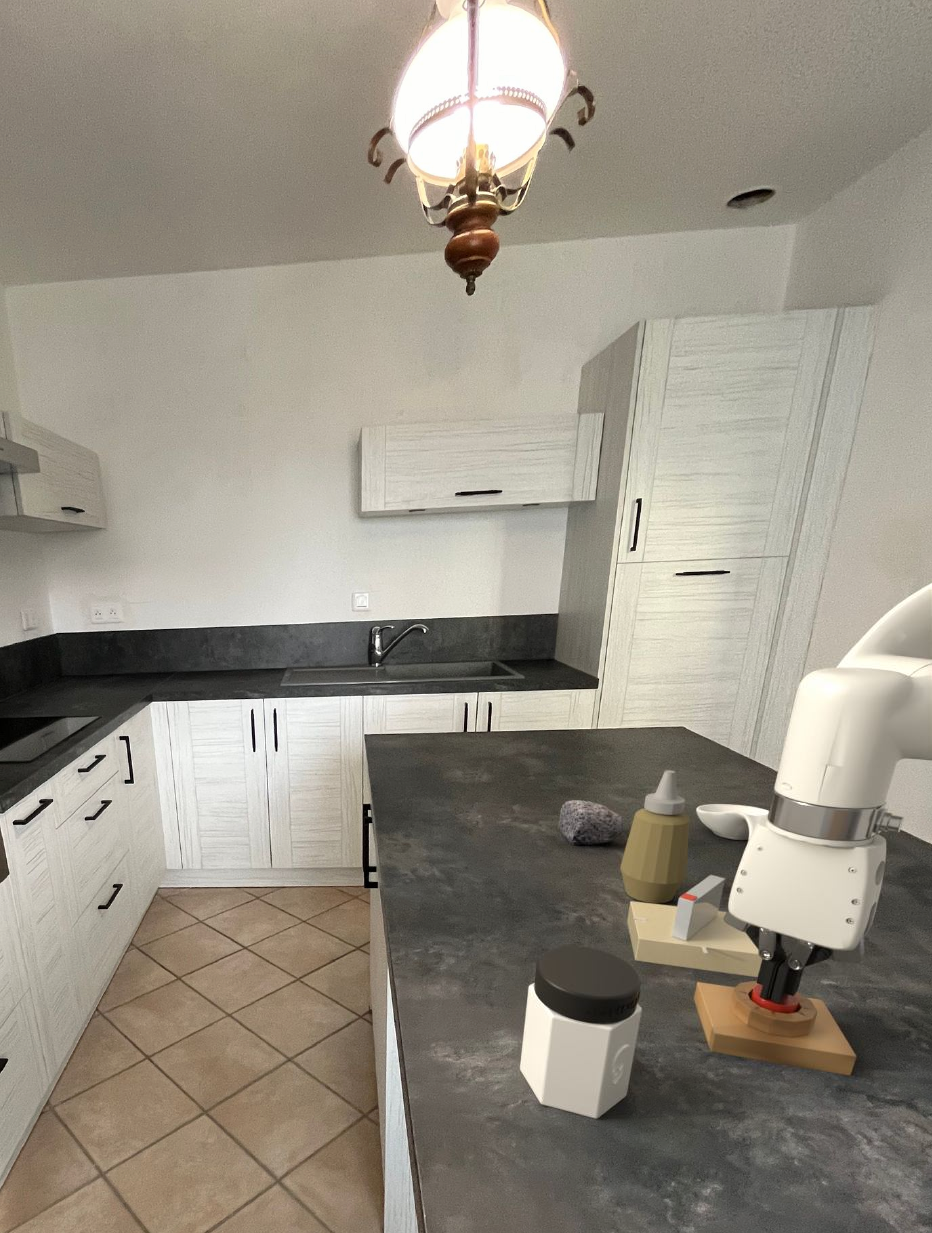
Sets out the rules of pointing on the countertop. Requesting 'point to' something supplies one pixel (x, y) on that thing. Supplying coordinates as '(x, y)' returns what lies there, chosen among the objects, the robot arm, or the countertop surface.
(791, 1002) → the button
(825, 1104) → the countertop surface
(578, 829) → the pumice stone
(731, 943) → the base
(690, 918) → the red-tipped gray slab
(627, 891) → the squeeze bottle
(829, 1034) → the button block
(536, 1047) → the jar
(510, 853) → the countertop surface
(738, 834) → the spoon rest
